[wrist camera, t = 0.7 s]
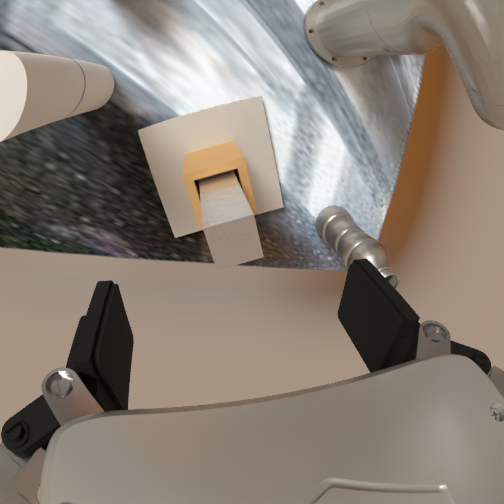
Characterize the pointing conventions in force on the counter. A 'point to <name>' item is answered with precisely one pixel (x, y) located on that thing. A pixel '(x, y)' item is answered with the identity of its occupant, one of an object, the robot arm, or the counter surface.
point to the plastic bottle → (353, 241)
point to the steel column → (228, 221)
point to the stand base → (211, 159)
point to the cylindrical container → (47, 90)
